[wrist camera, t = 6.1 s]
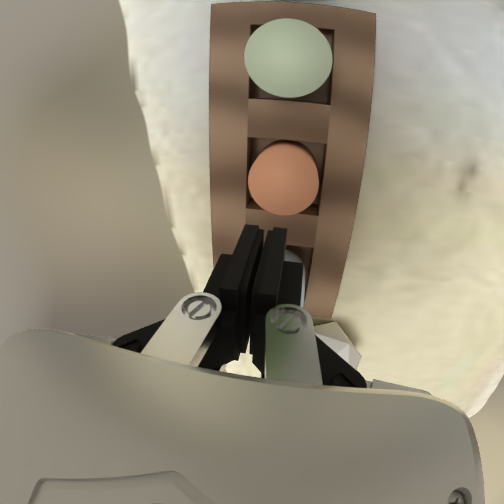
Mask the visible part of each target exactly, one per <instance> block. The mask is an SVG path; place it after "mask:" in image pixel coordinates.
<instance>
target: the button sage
mask: <svg viewBox="0 0 504 504" xmlns="http://www.w3.org/2000/svg"><path fill="white" fill-rule="evenodd" d="M244 62H245V66H246V69H247V72H248V74H249V76H250V77H251V79H252V80H253V81H254V82H255V83H256V84H257V85H258V86H259V87H260V88H261V89H263V90H264V91H266V92H268V93H270V94H273V95H276V96H280V97H286V98H293V97H300V96H304V95H307V94H309V93H311V92H313V91H315V90H316V89H318V88H319V87H320V86H321V85H322V84H323V83H324V82H325V81H326V79H327V78H328V76H329V74H330V72H331V68H332V62H333V59H332V51H331V48H330V45H329V43H328V41H327V39H326V38H325V36H324V35H323V34H322V33H321V32H320V31H319V30H318V29H317V28H315V27H314V26H312V25H310V24H308V23H307V22H304V21H301V20H297V19H290V18H284V19H277V20H273V21H270V22H267V23H265V24H264V25H262V26H260V27H259V28H258V29H257V30H256V31H255V32H254V33H253V34H252V35H251V36H250V38H249V40H248V42H247V44H246V47H245V52H244Z"/></svg>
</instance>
